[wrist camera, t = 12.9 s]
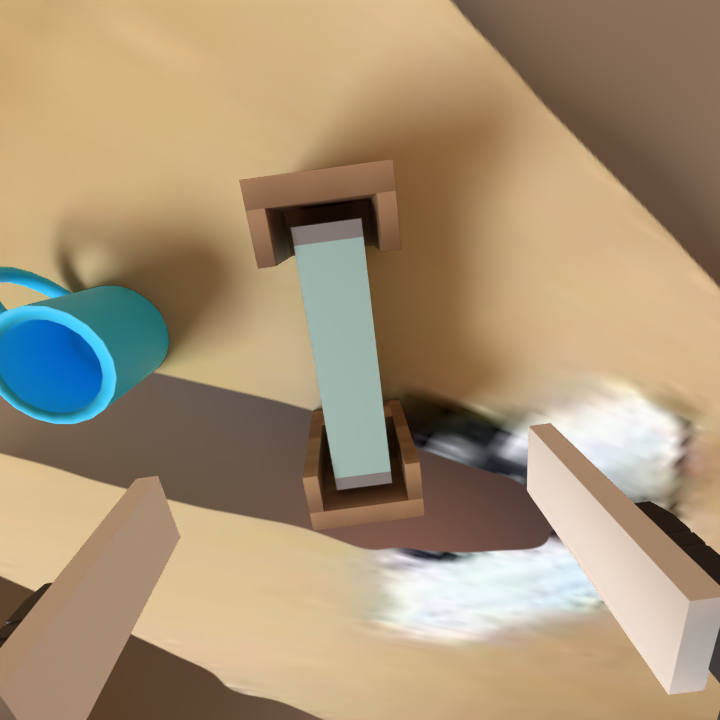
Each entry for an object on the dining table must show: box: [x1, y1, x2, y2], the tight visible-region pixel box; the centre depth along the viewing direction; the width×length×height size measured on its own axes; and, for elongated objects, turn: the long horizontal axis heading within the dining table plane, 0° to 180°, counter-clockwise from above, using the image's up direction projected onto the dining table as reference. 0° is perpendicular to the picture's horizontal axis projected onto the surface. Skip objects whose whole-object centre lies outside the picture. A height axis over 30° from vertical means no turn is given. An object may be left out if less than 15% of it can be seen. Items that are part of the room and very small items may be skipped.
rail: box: [291, 218, 392, 490], centre depth 27 cm, size 18×4×6 cm, turn 7°
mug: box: [0, 267, 169, 424], centre depth 28 cm, size 12×8×8 cm
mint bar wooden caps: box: [239, 159, 424, 530], centre depth 28 cm, size 23×8×10 cm, turn 7°
